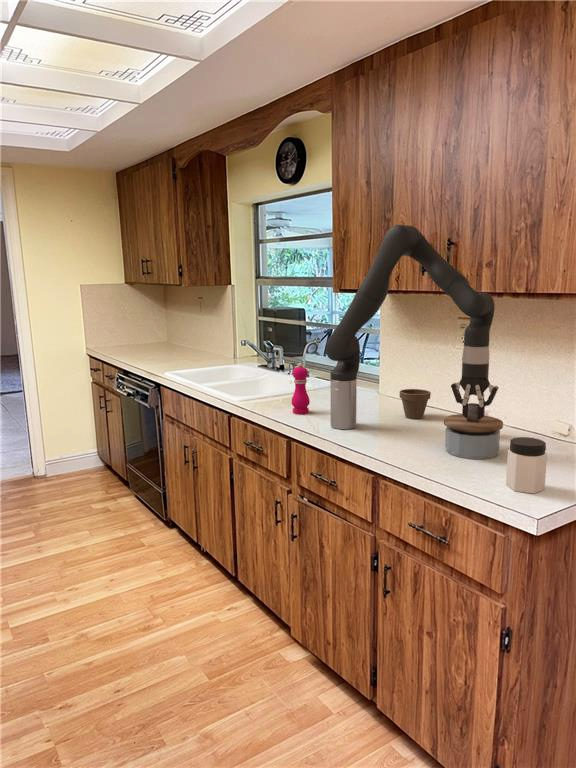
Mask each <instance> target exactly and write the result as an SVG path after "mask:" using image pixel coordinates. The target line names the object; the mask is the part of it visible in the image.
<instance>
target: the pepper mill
mask: <svg viewBox="0 0 576 768" xmlns="http://www.w3.org/2000/svg"><path fill="white" fill-rule="evenodd" d="M308 374H309V372H308V369H307V368H305V366H303V363H301V362H299V363H298V364H297V367H294V368H293V370H292V377H293V378H294V379H293V383H294V392H293V394H292V397H291V405H292V406H293V408H292V414H294V415H307V414H309V409H310V408H309V407H308V406H309V405H310V403H311V399H310V397H309V394H308V392H307V388H306V386H307V385H306V383H307V377H308V376H309V375H308Z"/></svg>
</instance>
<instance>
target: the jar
mask: <svg viewBox="0 0 576 768" xmlns="http://www.w3.org/2000/svg"><path fill="white" fill-rule="evenodd" d="M509 440H510V441H509V442H510V443H509V449H508V450H507V461H506V479H505V485H506V486H507V487H509V489H511V490H512V491H513V492H517V493H518V492H519V493H525V494H536V493H539V492H542V491H545V488H546V487H545V486H546V473H547V460H548V453H546V449H547V448H546V447H547V445H546V442H545V441H544V440H542V439H539V438H535V437H527V436H517V437H513V438H511V439H509Z"/></svg>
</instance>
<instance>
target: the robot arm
mask: <svg viewBox="0 0 576 768" xmlns="http://www.w3.org/2000/svg"><path fill="white" fill-rule="evenodd" d="M402 256H403V257H404V256H405V257H406V256H408V257H410V258H411V259H413V260H415V261H416V262H417V263H418V264H419V265H421V266H422V267H423V268H424V270H425V271H426V272H427V274H428V275H429V277H430V278H431V280H432V282H433V283H434V284H435V285H436V286H437V287H438V288H439V289H440V290H442V291H443V292H444V293H445V294H446V295H447V296H449V297H450V299H452V301H453V303H454V304H455V306H456V307H458V309H459V310H460V311H461V313H463V314H464V315H466V316H467V317H470V319H469V323H468V325H467V326H466V328H465V329H464V333H463V334H464V335H463V336H464V337H463V349H462V357H461V362H462V363H461V378H460V380H459V381H458V382H453V383H452V384H451V385H450V388H451V391H452V393H453V397H454V399H455V402H456V403H458V404H461V406H462V411H461V412H462V413H461V414H462V415H463V416H464V418H467V404H469V401H470V397H471V396H476V397H477V400H478V404H479V406H480V407H479V411H478V419H482V418H483V417H484V413H485V408H486V407H488V406H490V405H491V404H492V403H493V401H494V399H495V397H496V395H497V393H498V391H499V388H500V387H499V386H498V385H493V384H491V383H490V381H489V373H490V372H489V369H490V332H491V331H490V330H491V327H492V323H493V320H494V314H495V310H496V309H495V300H494V297H493V296H492V295H491V294H489V293H487V292H483V291H481V292H478V291H476V290H475V289H474V288H473V287H472V286H471V285H470V280H468V278H467V277H466V276H465V275H464V274H463V273H462V272H460V271H459V270H458V269H456V268H455V267H454V266H453V265H452V264H451V263H449V262H448V261H447V260H446V259H445V258H444V257H443V256H442V255H440V253H439V252H437V250H436V249H435V247H433V246H432V245H431V243H430V242H429V241H428V240H427V238H426V237H425V236H424V235H423V234H422V232H421V231H419V229H418V228H417V227H415V226H413V225H407V224H406V225H405V224H396V225H393V226H391V227H390V228H389V229H388V230H387V232H386V233H385V234H384V237H383V239H382V242H381V244H380V246H379V249H378V251H377V253H376V256H375V258H374V260H373V262H372V264H371V266H370V267H369V269H368V271H367V273H366V275H365V276H364V279H363V280H362V282H361V284H360V286H359V287H358V289H357V291H356V293H355V295H354V297H353V299H352V300H351V302H350V304H349V306H348V308H347V309H346V311H345V313H344V315H343V317H342V318H341V320H340V321H339V323H338V325H337V326H336V327H335V329H333V332H332V333H331V334H330V336H329V337H328V339H327V342H326V345H325V353H326V356H327V357H328V359H329V360H331V361H334V362H335V361H336V362H337V363H336V366H334V368H333V369H332V370H331V372H330V374H329V375H330V377H329V378H330V427H331V428H333V429H338V430H348V429H350V430H351V429H354V428H356V427H357V387H358V386H357V382H358V381H357V380H358V379H357V378H358V377H357V376H358V373H359V371H360V358H361V357H360V355H361V347H360V341H359V339H358V337H357V333H358V332H359V331H360V329H362V328H363V327H364V326H365V325H366V324H367V323H368V322H369V321H370V320H371V319H373V317H374V316H375V315H376V314H377V313H378V312H379V310H380V308H381V307H382V305H383V303H384V302H385V299H386V298H387V296H388V294H389V288H390V280H391V276H392V273H393V270H394V269H395V267H396V265H397V264H398V263H399V261H400V259H401V257H402ZM461 388H462V389H463V391H464V394H463V398H462V394H461V391H460V389H461ZM487 389H488V391H489V393H490V394H489V395H488V397H487V400H486V401H485V392H486V390H487Z"/></svg>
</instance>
